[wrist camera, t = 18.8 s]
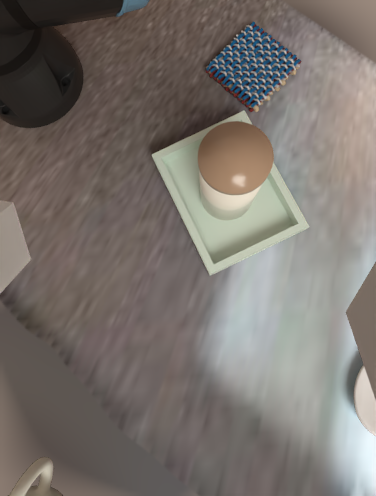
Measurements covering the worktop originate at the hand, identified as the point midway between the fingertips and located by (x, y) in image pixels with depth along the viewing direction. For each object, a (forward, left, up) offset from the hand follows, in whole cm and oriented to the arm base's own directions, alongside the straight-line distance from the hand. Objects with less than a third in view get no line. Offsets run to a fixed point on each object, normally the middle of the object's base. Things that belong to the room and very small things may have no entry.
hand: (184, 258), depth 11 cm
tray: (-9, +9, -30) cm, 32 cm away
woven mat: (-25, +21, -30) cm, 44 cm away
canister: (-9, +9, -29) cm, 32 cm away
